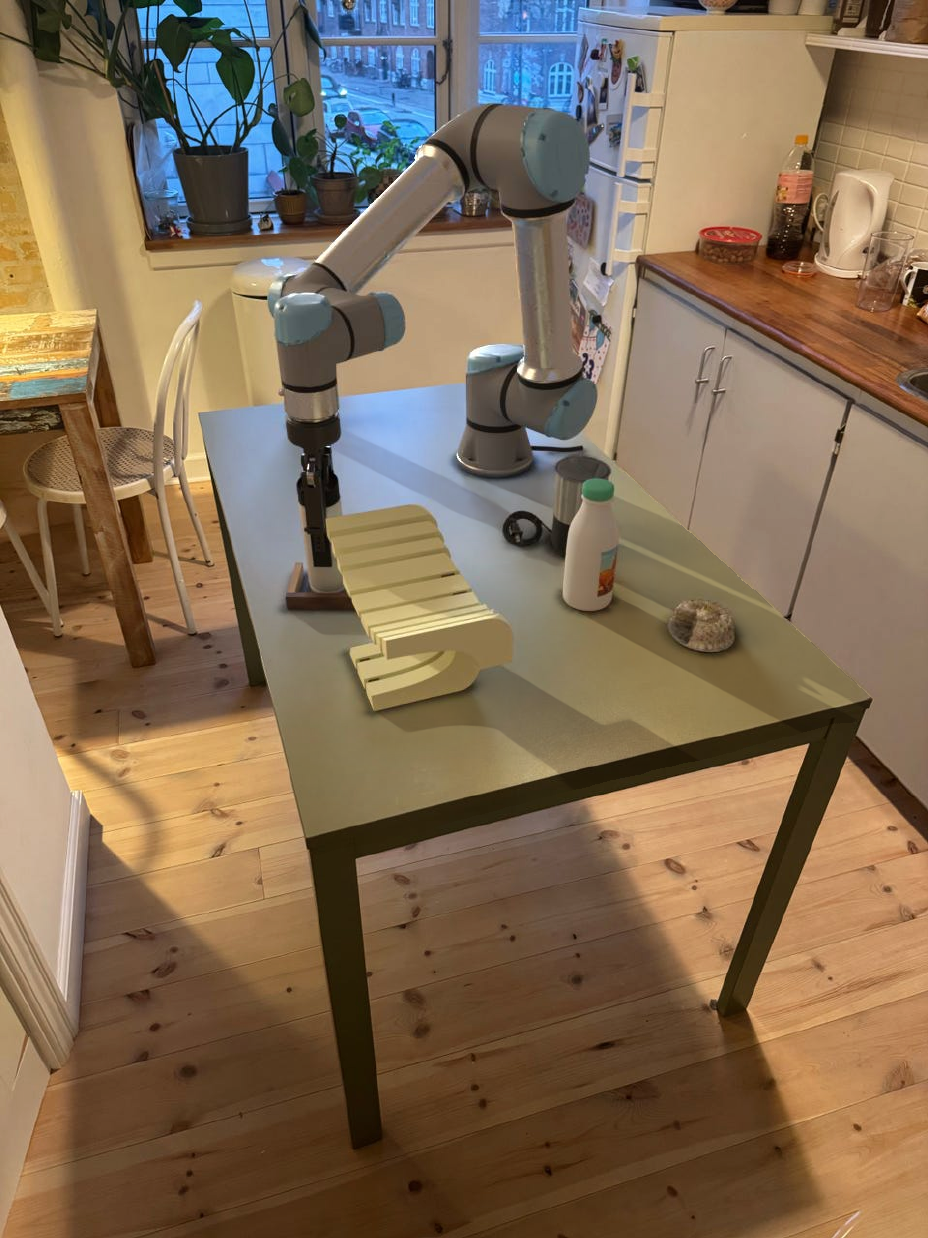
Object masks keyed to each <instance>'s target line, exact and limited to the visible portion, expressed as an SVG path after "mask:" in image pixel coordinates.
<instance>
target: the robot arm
mask: <svg viewBox="0 0 928 1238" xmlns="http://www.w3.org/2000/svg"><path fill="white" fill-rule="evenodd" d="M414 159H415V160H414V162H413V163H412V164H411V165H410V166H408V168H407V169H406V170H405V171H404V172H402V174H401V175H400V176H399V177H397V179H396V180H394V182H392V184H391V185H390V186H389V187H387V188H386V190H385V191H384V192H383V193H382V194H381V195H380V196H379V197H378V198H376V199H375V200H374V202H372V203H371V204H370V205H369V206H368V208H366V210H364V211H363V212H362V213H361V214H360V216H359V217H357V219H355V220H354V221H353V222H352V224H350V225H349V226H348V227H347V228H345V230H344V231H343V232H342V233H341V234H339V236H338V237H337V238H336V239H335V240H334V241H333V242H332V243H331V244H330V245H329V246H328V247H327V248H326V249H325V250H324V251H323V252H321V254H320V255H318V257H317V258H316V259H314V261H313V262H312V263H311V264H310V265H309V266H308V267H307V268H306V269H305V270H303V271H302V273H300V275H299V274H294V273H292V274H290V273H289V274H283V275H280V276H278V277H277V278H275V279H274V281H272V283H271V284H270V286H269V288H268V292H267V297H266V303H267V308H268V311H269V314H270V315H271V317H272V318H273V325H274V326H273V327H274V333H273V336H274V340H275V345H276V350H277V359H278V367H279V375H280V381H281V388H279V389H278V392H277V393H278V395H279V396H280V397H283V407H284V412H285V413H286V414H285V428H286V436H287V440H288V441H289V443H291V444H292V445H294V446H295V447H299V448H301V449H302V451H303V452H302V453H301V454H300V465H301V467H302V470H301V472H300V477H301V479H302V484H303V492H304V503H305V514H306V525H307V527H305V528H304V532H307V534H310V537H311V546H312V555H313V564H314V567H332V556H331V545H330V541H329V539H328V537H327V529H326V518H327V515H326V500H325V491H326V489H325V486H326V485H327V484H328V482H329V477H328V471H331V470H334V465H333V464H334V463H333V448H332V445H334V444H336V443H337V442H338V441H339V440H340V439H341V436H342V427H341V415H340V412H339V410H340V395H339V383H338V377H337V376H338V374H337V365H339V364H341V363H344V362H348V361H350V360H353V359H357V358H361V357H364V356H367V355H370V354H373V353H377V352H383V351H384V350H385V349H388V348H390V347H392V346H395V345H397V344H399V343H400V342H401V341H402V340H403V337H404V335H405V332H406V314H405V312H404V309H403V306H402V304H401V303H400V301H399V299H398V298H397V297H396V296H394V295H393V294H392V293H390V292H388V291H378V292H377V291H376V292H369V293H368V294H365V295H359V293H360V292H361V291H362V290H363V289H364V288H365V287H366V286H367V284H369V283H370V282H371V280H373V279H374V277H376V276H377V275H378V274H379V273H380V272H381V270H383V268H385V266H387V264H388V263H389V262H390V261H391V260H393V258H394V257H395V256H396V255H397V254H398V253H400V251H401V250H403V248H404V247H405V246H406V245H407V244H408V243H409V242H410V241H411V240H412V239H413V238H414V237H415V236H416V235H417V234H418V233H419V232H420V231H421V230H422V229H423V228H424V227H425V226H426V225H427V224H428V223H429V222H430V221H431V220H432V219H433V218H434V217H435V216H436V215H437V214H438V213H439V212H440V211H441V210H442V209H443V208H444V207H445V206H446V205H447V204H448V203H457V202H459V201H460V200H461V199H462V198H463V197H464V196H465V195H466V194H468V193H469V192H471V191H474V190H477V189H482V188H483V189H485V188H487V189H490V190H495V191H498V196H499V197H498V198H499V205H500V207H499V208H500V212H501V215H502V216H504V217H505V218H506V219H507V220H509V221H510V222H511V229H512V238H513V239H512V240H513V249H514V262H515V271H516V273H515V274H516V283H517V292H518V303H519V304H518V305H519V315H520V324H521V335H522V336H521V337H522V344H517V343H497V344H496V343H495V344H489V345H484V346H481V347H478V348H476V349H474V350H473V351H471V352H470V353H469V354H468V356H467V358H466V368H465V369H466V370H465V412H466V413H465V420H466V421H465V426H464V429H463V432H462V436H461V439H460V441H459V444H458V447H457V451H456V462H457V465H458V467H459V468H460V469H462V470H464V471H465V472H466V473H468V474H472V475H474V476H478V477H483V478H491V479H493V478H494V479H495V478H497V479H499V478H509V477H513V476H518V475H520V474H522V473H524V472H527V470H529V469H530V468H531V467H532V464H533V451H534V452H555V453H572V452H573V453H574V452H580V451H583V450H584V446H583V445H574V446H568V447H565V446H564V447H561V446H549V445H531V442H530V439H529V435H528V432H527V429H528V430H530V431H533V432H535V433H539V434H541V435H543V436H545V437H547V438H553V439H555V440H556V439H557V440H559V441H568V440H571V439H573V438H575V437H577V436H578V435H579V434H581V433H582V431H583V430H584V429H585V428H586V427H587V425H588V424H589V422H590V420H591V418H592V417H593V415H594V413H595V410H596V407H597V404H598V395H599V393H598V387H597V384H596V383H595V382H593V381H592V380H591V379H590V378H586V377H584V368H583V367H584V366H583V359H582V357H581V356H580V354H578V353H576V352H575V351H574V339H573V321H572V303H571V301H572V300H571V285H570V284H571V283H570V266H569V265H570V264H569V245H568V227H567V225H568V224H567V214H568V213H569V212H570V211H571V210H572V208H573V207H574V205H575V204H576V197H577V196H578V195H580V193H581V192H582V190H583V188H584V186H585V185H586V182H587V179H586V175H588V174H589V170H590V165H591V151H590V145H589V140H588V137H587V134H586V131H585V129H584V128H583V127H582V125H581V123H580V122H579V121H578V120H577V119H576V118H575V117H574V116H573V115H572V114H570V113H568V112H564V111H560V110H557V109H556V110H555V109H554V108H551V107H545V106H543V107H535V106H525V105H523V106H522V105H513V104H504V103H498V102H488V103H483V104H479V105H476V106H474V107H471V108H468V109H467V110H465V111H463V112H462V113H460V114H457V116H455V117H453V118H452V119H451V120H449V121H448V122H446V123H445V124H444V125H443V126H441V127H440V128H439V129H437V130H436V131H435V132H434V133H433V134H432V135H431V136H429V137H428V138H427V139H426V140H425V141H424V142H423V143H422V144H421V145H420V146H419V147H418V148H417V150H416V152H415V157H414ZM321 478H324V479H321Z"/></svg>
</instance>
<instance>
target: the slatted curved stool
mask: <svg viewBox="0 0 928 1238" xmlns="http://www.w3.org/2000/svg"><path fill="white" fill-rule="evenodd" d="M326 529H327V537H328V539H329V541H330V542H332V552H333V554H334V556H335V558H337V564H338V569H339V571H340V573H341V574H342V575H343V584H344V586H345V588H346V590H347V593H348V595H349V597H350V598H352V603H353V605H354V607H355V612H356V614H357V616H358V618H360V623H361V624H362V627H363V629H364V631H365V633H366V635H367V637H368V639H370V638H371V640H372V642H369V643H365V644H361V645H360V644H359V645H356V646H352V647H350V648H349V649H350V650H349V656H350V658H351V661H352V663H353V665H354V667H355V670H357V675H358V677H359V679H360V682H361V684H362V686H363V689H364V690H366V696H367V698H368V701H369V702H370V705H371V707H372V710H373V712H377V711H381V710H385V709H389V708H393V707H394V708H395V707H397V706H403V705H406V704H410V703H415V702H419V701H423V700H427V699H431V698H435V697H440V696H444V695H449V694H453V693H457V692H460V691H464V690H466V689H468V688H469V687H470V686H471V685H472V684H473V683H474V681H475V680H476V679H477V677H478V675H479V673H480V671H482V670H486V669H489V668H493V667H494V668H495V667H498V666H502V665H506V664H511V663H513V654H514V632H513V629H512V627H511V626H510V624H509V623H508V621H507V620H506V618H505V617H504V616H503V614H501V613H500V612H499V613H497V612H496V610H494V608H492V609H490V608H489V606H488V605H487V604H486V603H484V604H482V603H481V601H480V600H479V598H478V597H477V596H476V594H475V592H474V591H473V589H472V588H471V586H470V585H469V583H468V581H467V580H466V579H465V577H464V576H463V575H462V572H461V571H460V570H459V569H458V567H457V566H456V564H455V563H454V561H453V560H452V556H451V552H450V549H449V547H447V545H446V544H445V539H444V536H443V534H442V532H441V531H440V529H439V525H438V521H437V519H436V518H435V517H434V515H433V514H432V512H431V511H430V510H429V509H428V508H427V507H425V506H424V505H422V504H417V503H409V504H404V505H398V506H392V507H386V508H380V509H374V510H369V511H362V512H355V513H350V514H345V515H343V516H338V517H332V518H326Z"/></svg>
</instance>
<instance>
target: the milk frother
mask: <svg viewBox="0 0 928 1238" xmlns="http://www.w3.org/2000/svg"><path fill="white" fill-rule="evenodd" d="M554 471H555V472H556V473H555V485H554V497H553V498H554V499H553V513H552V524H551V529H550V528H549V527H548V526H547V525H546V524H545V522H544V521H543V520H542V519H540V518H539V516H537V515H536V514H534V513H532V512H530V511H527V510H517V511H514V512H512V513H510V514H509V515H508V516H507V517H505V520H504V522H503V523H502V527H501V533H502V535H503V538H504V540H505V541H506V542H508V543H509V544H512V545H514V546H517V547H529V546H532V545H535V544H537V543H538V542H539V541H540V539H541V538H542V536H543V533H544V528H545V529H546V530H547V531H548V532H549V533H550V538H549V540H548V545H549V547H550V549H551V550H552V551H553V552H554V553H556V554H558V555H559V556H561V557H565V558H566V548H567V539H568V532H569V528H570V525H571V523H572V521H573V519H574V517H575V516H576V514H577V513H578V511H579V509H580V507H581V505H582V502H583V499H582V497H581V496H582V486H583V483H584V482H585V481H587V480H589V479H594V478H599V479H605V480H608V481H609V477H610V475H611V474H612V469H611V467H610V465H609V464H608V463H607V462H606V461H603V460H602V459H598V458H597V457H592V456H587V455H573V456H568V457H567V456H566V457H564V458H561V459H560V460H558V461H557V462H555V465H554ZM519 520H525V521H528V522H530V523H532V524H533V526H534V527H535V533H534V534H533V535H532V536H531V537H529V538H525V539H522V537H523V534H524V531H523V530H522V529H521V528H520V525H519V523H518V521H519ZM543 527H544V528H543Z"/></svg>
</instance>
